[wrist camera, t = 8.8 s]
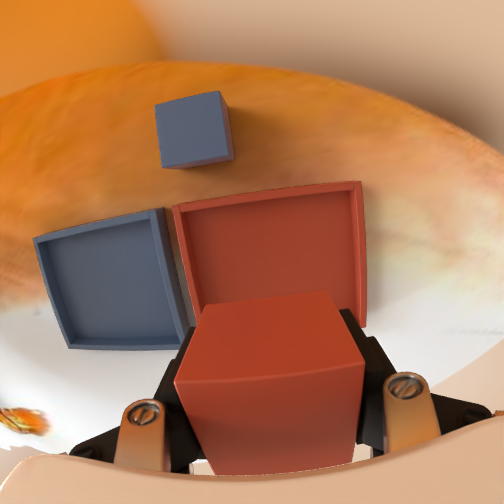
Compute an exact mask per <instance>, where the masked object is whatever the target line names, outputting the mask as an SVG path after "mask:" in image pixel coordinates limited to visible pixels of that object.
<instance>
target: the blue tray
mask: <svg viewBox="0 0 504 504" xmlns="http://www.w3.org/2000/svg"><path fill="white" fill-rule="evenodd" d="M33 242H34V246H35V250H36V254H37V258H38V262H39V266H40V270H41V273H42V277H43V280H44V283H45V287H46V290H47V293H48V296H49V299H50V302H51V305H52V308H53V310H54V313H55V316H56V319H57V321H58V324H59V326H60V329H61V332H62V334H63V336H64V339H65V341H66V344H67V346H68V348H69V349H85V350H126V351H137V350H179V349H180V347H181V345H182V343H183V341H184V339H185V336H186V334H187V332H188V330H189V328H190V325H189V321H188V317H187V314H186V310H185V306H184V302H183V297H182V293H181V289H180V285H179V280H178V276H177V272H176V267H175V262H174V258H173V253H172V248H171V243H170V238H169V233H168V228H167V223H166V217H165V212H164V207H161V208H156V209H151V210H146V211H141V212H136V213H131V214H126V215H121V216H117V217H112V218H108V219H103V220H99V221H94V222H90V223H86V224H82V225H78V226H73V227H69V228H65V229H61V230H58V231H54V232H50V233H46V234H43V235H40V236H37V237H34V238H33Z"/></svg>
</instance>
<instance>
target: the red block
mask: <svg viewBox="0 0 504 504" xmlns="http://www.w3.org/2000/svg"><path fill="white" fill-rule="evenodd" d="M364 371H365V361H364V359H363V357H362V355H361V353H360V351H359V349H358V347H357V345H356V343H355V341H354V339H353V337H352V335H351V333H350V331H349V330H348V328H347V326H346V324H345V322H344V320H343V318H342V316H341V314H340V312H339V311H338V309H337V307H336V305H335V303H334V301H333V299H332V298H331V296H330V294H329V292H328V290H322V291H315V292H308V293H301V294H294V295H287V296H279V297H271V298H263V299H255V300H246V301H238V302H228V303H219V304H209V305H206V306H205V308H204V310H203V312H202V315H201V317H200V319H199V322H198V324H197V327H196V329H195V331H194V334H193V336H192V338H191V341H190V343H189V346H188V348H187V350H186V353H185V355H184V358H183V360H182V362H181V365H180V367H179V370H178V372H177V375H176V377H175V379H174V385H175V388H176V390H177V393H178V395H179V398H180V400H181V403H182V405H183V408H184V410H185V412H186V415H187V417H188V419H189V422H190V424H191V426H192V428H193V431H194V433H195V435H196V437H197V439H198V442H199V444H200V446H201V448H202V450H203V452H204V454H205V456H206V458H207V460H208V462H209V464H210V466H211V468H212V470H213V472H214V474H215V475H227V476H236V475H265V474H279V473H289V472H298V471H306V470H313V469H319V468H326V467H331V466H337V465H342V464H347V463H350V462H352V457H353V452H354V447H355V442H356V436H357V429H358V423H359V416H360V408H361V400H362V392H363V382H364Z"/></svg>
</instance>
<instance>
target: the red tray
mask: <svg viewBox="0 0 504 504" xmlns="http://www.w3.org/2000/svg"><path fill="white" fill-rule="evenodd" d="M172 209H173V215H174V221H175V226H176V231H177V237H178V242H179V247H180V252H181V257H182V261H183V266H184V271H185V275H186V280H187V285H188V289H189V293H190V298H191V302H192V306H193V310H194V314H195V318H196V322H197V324H198V322H199V319H200V317H201V315H202V312H203V310H204V308H205V306H206V305H209V304H219V303H228V302H238V301H246V300H255V299H263V298H271V297H279V296H287V295H294V294H301V293H308V292H315V291H322V290H328V292H329V294H330V296H331V298H332V299H333V301H334V303H335V305H336V307H337V309H338V310H340V309H346V308H349V309H350V311H351V312H352V314H353V315H354V317H355V319H356V320H357V322H358V324H359V325H360V327H361V328H364V327H366V315H367V261H366V236H365V219H364V206H363V195H362V184H361V181H344V182H333V183H323V184H314V185H304V186H296V187H287V188H279V189H271V190H264V191H256V192H249V193H242V194H235V195H229V196H222V197H216V198H210V199H204V200H198V201H192V202H186V203H181V204H177V205H174V206H172Z"/></svg>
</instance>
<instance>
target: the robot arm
mask: <svg viewBox="0 0 504 504" xmlns="http://www.w3.org/2000/svg"><path fill="white" fill-rule="evenodd" d="M338 311H339V312H340V314H341V316H342V318H343V320H344V322H345V324H346V326H347V328H348V330H349V331H350V333H351V335H352V337H353V339H354V341H355V343H356V345H357V347H358V349H359V351H360V353H361V355H362V357H363V359H364V361H365V371H364V382H363V392H362V400H361V408H360V416H359V423H358V429H357V436H356V443H357V445H358V444H362V443H363V444H366V445H368V446H371V457H370V459H367V460H363V461H358V462H354V463H350V464H344V465H339V466H334V467H328V468H322V469H316V470H309V471H302V472H293V473H283V474H271V475H253V476H209V475H207V476H206V475H194V471H193V464H192V462H194V461H196V460H197V459H207V458H206V456H205V454H204V452H203V450H202V448H201V446H200V444H199V442H198V439H197V437H196V435H195V433H194V431H193V428H192V426H191V424H190V422H189V419H188V417H187V415H186V412H185V410H184V408H183V405H182V403H181V400H180V398H179V395H178V393H177V390H176V388H175V385H174V379H175V377H176V375H177V372H178V370H179V367H180V365H181V362H182V360H183V358H184V355H185V353H186V350H187V348H188V346H189V343H190V341H191V338H192V336H193V334H194V331H195V329H196V327H190V328H189V330H188V332H187V334H186V336H185V339H184V341H183V343H182V345H181V347H180V349H179V352H178V354H177V356H176V358H175V359H172V360H171V361H170V363H169V365H168V367H167V370H166V372H165V374H164V376H163V378H162V380H161V382H160V385H159V387H158V389H157V391H156V393H155V395H154V398H153V399H142V400H138V401H136V402H134V403H132V404H131V405H129V406H128V407H127V408H126V409H125V411H124V413H123V416H122V421H121V425H120V426H118V427H116V428H114V429H112V430H109V431H107V432H105V433H103V434H100V435H98V436H96V437H93V438H91V439H89V440H86V441H84V442H82V443H80V444H78V445H76V446H75V447H74V448H73V449H72V450H71V452H70V453H69V455H68V454H67V453H66V452H64V453H60V454H41V455H34V456H30V457H28V458H26V459H24V460H23V461H21V462H20V463H19V464H18V465H17V466H16V467H15V468H14V469H13V471H12V472H11V473H10V474H9V476H8V477H7V478H6V480H5V481H4V482H3V484H2V485H1V487H0V504H504V411H497V410H496V411H495V413H494V414H491V412H490V411H489V410H488V409H487V408H486V407H484V406H482V405H479V404H476V403H471V402H466V401H462V400H457V399H452V398H449V397H445V396H441V395H436V394H433V393H430V390H429V387H428V384H427V382H426V380H425V379H424V378H423V377H422V376H420V375H418V374H416V373H412V372H400V373H397V372H396V370H395V368H394V367H393V365H392V363H391V362H390V360H389V359H388V357H387V355H386V354H385V352H384V351H383V349H382V347H381V346H380V344H379V343H378V341H377V339H376V338H375V337H374V336H371V337H366V335H365V334H364V332H363V330H362V329H361V327H360V325H359V324H358V322H357V320H356V319H355V317H354V315H353V314H352V312H351V311H350V309H349V308H346V309H340V310H338Z"/></svg>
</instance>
